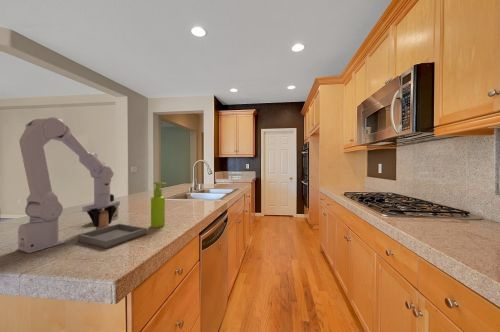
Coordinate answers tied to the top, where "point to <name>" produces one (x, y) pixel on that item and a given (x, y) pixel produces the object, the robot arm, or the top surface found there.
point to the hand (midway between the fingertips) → (102, 225)
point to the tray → (112, 235)
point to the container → (115, 215)
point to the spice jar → (103, 219)
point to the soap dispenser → (158, 207)
